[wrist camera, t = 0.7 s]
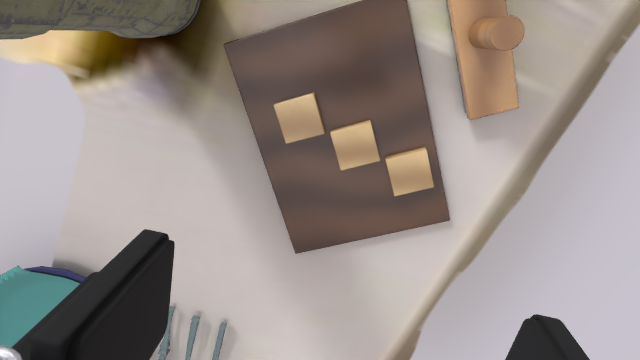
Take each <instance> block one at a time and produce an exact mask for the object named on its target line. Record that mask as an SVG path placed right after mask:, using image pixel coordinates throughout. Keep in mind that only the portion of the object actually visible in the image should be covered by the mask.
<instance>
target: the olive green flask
mask: <svg viewBox="0 0 640 360" xmlns="http://www.w3.org/2000/svg"><path fill="white" fill-rule="evenodd" d="M200 2H201V0H0V39H24V38H28V37H32V36H37V35H41V34H45V33H46V32H47V31H49V30H85V31H110V32H112V33H114V34H116V35H118V36H121V37H126V38H153V37H157V36H165V35H170V34H174V33H178V32H179V31H181V30H182V29H184V28H185V27H187V26H188V25H189V24H190V23H191V21H192V20H193V19H194V17H195V16H196V14H197V12H198V9H199V6H200Z"/></svg>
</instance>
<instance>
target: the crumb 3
mask: <svg viewBox="0 0 640 360" xmlns="http://www.w3.org/2000/svg"><path fill="white" fill-rule="evenodd" d="M385 160H386V164H387V168H388V172H389V177H390V181H391V185H392V189H393V193H394V196H398V195H402V194H407V193H411V192H415V191H420V190H424V189H428V188H433V187H434V183H433V179H432V174H431V169H430V164H429V159H428V154H427V150H426V148H425V147H423V148H419V149H415V150H411V151H407V152H403V153H399V154H395V155H391V156H387V157H385Z"/></svg>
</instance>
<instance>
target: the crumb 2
mask: <svg viewBox="0 0 640 360" xmlns="http://www.w3.org/2000/svg"><path fill="white" fill-rule="evenodd" d="M330 134H331V137H332V141H333V145H334V148H335V152H336V155H337V159H338V162H339V166H340V169H341V170H345V169H349V168H353V167H357V166H361V165H365V164H370V163H374V162H378V161H380V157H379V153H378V149H377V145H376V141H375V137H374V133H373V129H372V125H371V121H370V120H368V121H364V122H360V123H357V124H353V125H349V126H345V127H342V128H338V129H334V130H331V132H330Z"/></svg>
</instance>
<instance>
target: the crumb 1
mask: <svg viewBox="0 0 640 360" xmlns="http://www.w3.org/2000/svg"><path fill="white" fill-rule="evenodd" d="M274 108H275V112H276V115H277V118H278V121H279V124H280V127H281V130H282V133H283V136H284V140H285V143H286V144H288V143H292V142H296V141H299V140H303V139H307V138H311V137H315V136H318V135H322V134H325V128H324V124H323V121H322V117H321V114H320V110H319V107H318V103H317V100H316V96H315V93H314V92H313V93H309V94H306V95H302V96H299V97H295V98H291V99H288V100H284V101H281V102H277V103H275V104H274Z"/></svg>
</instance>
